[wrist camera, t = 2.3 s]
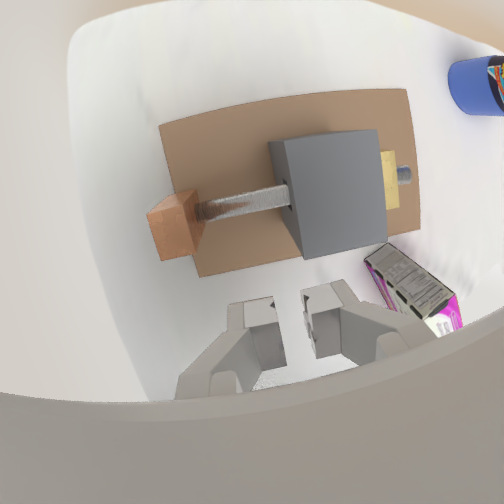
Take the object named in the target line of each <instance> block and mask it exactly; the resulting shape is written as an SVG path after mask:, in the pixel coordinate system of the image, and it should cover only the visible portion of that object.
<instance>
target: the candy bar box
mask: <svg viewBox="0 0 504 504" xmlns="http://www.w3.org/2000/svg"><path fill="white" fill-rule="evenodd" d="M364 262H365V263H366V265H367V267H368V269H369V271H370V273H371V274H372V276H373V278H374V280H375V282H376V284H377V285H378V287H379V289H380V291H381V293H382V295H383V297H384V299H385V301H386V303H387V305H388V307H389V309H390V310H393V311H396V312H399V313H403V314H406V315H409V316H412V317H415V318H418V319H421V320H423V321H424V322H425V323H426V324H427V325H428V326H429V328H430V329H431V330H432V331H433V332H434V333H435V335H436V336H437V337H438V338H439V337H441V336H444V335H446V334H448V333H451V332H453V331H455V330H457V329H460V328H462V327H463V323H462V319H461V314H460V310H459V305H458V301H457V297H456V294H455V293H454V292H453V291H451V290H450V289H449V288H448V287H446V286H445V285H444V284H443V283H441V282H440V281H439V280H438V279H437V278H435V277H434V276H433V275H431V274H430V273H429V272H428V271H426V270H425V269H424V268H422V267H421V266H419V265H418V264H417V263H415V262H414V261H413V260H412V259H410V258H409V257H408V256H406V255H405V254H403V253H402V252H401V251H400V250H398V249H397V248H395V247H394V246H393V245H391V244H390V243H387V244H385V245H384V246H382V247H381V248H380V249H379V250H378V251H376V252H375V253H373V254H372V255H370V256H369V257H368V258H366V259H365V260H364Z"/></svg>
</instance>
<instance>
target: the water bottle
mask: <svg viewBox="0 0 504 504" xmlns="http://www.w3.org/2000/svg"><path fill="white" fill-rule="evenodd" d="M448 84H449V89H450V92H451V95H452V97H453V99H454V101H455V103H456V104H457V105H458V107H459V108H460V109H461V110H462V111H463V112H465V113H466V114H469V115H486V116H504V56H497V55H493V56H487V57H480V58H475V59H470V60H465V61H460V62H456V63H454V64H453V65H452V66H451V67H450V69H449V72H448Z"/></svg>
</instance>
